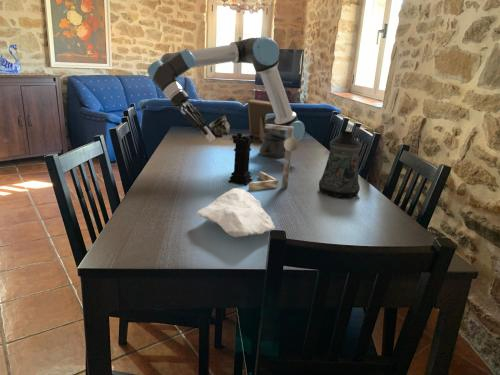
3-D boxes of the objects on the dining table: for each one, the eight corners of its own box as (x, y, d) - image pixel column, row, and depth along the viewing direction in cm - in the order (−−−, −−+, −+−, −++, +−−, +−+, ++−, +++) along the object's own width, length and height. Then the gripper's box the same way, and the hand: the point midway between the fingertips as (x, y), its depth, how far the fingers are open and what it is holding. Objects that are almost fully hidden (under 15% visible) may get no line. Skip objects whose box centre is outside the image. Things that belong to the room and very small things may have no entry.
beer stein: (335, 201, 142) (345, 137, 134) (306, 185, 158) (313, 127, 150) (367, 197, 150) (378, 136, 141) (336, 182, 166) (344, 127, 158)
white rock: (189, 245, 98) (196, 214, 95) (200, 198, 131) (205, 174, 128) (275, 261, 100) (283, 231, 97) (264, 210, 133) (271, 187, 130)
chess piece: (252, 180, 160) (255, 134, 153) (246, 185, 152) (249, 138, 146) (235, 177, 162) (237, 132, 156) (228, 182, 155) (230, 135, 148)
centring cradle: (277, 177, 167) (282, 120, 159) (292, 189, 152) (299, 128, 144) (237, 178, 161) (241, 119, 153) (250, 191, 146) (254, 127, 138)
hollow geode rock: (218, 144, 245) (235, 129, 241) (205, 130, 241) (221, 115, 238) (222, 135, 271) (237, 122, 267) (210, 122, 268) (225, 108, 264)
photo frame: (253, 134, 261) (255, 98, 253) (280, 139, 251) (283, 102, 242) (241, 137, 249) (243, 100, 241) (269, 143, 239) (272, 104, 230)
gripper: (177, 100, 160) (212, 142, 161) (163, 102, 148) (200, 148, 149) (189, 88, 157) (224, 132, 158) (175, 90, 145) (213, 137, 146)
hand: (212, 140), depth 154 cm, fingers closed
